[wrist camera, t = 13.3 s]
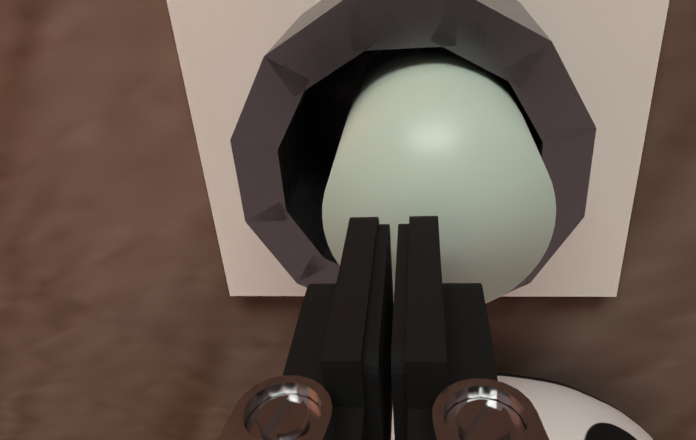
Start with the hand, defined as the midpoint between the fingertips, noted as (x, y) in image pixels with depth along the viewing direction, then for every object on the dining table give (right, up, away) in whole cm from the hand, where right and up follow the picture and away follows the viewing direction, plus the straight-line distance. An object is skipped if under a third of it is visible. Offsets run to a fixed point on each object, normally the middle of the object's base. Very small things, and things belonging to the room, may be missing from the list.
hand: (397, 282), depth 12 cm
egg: (+2, +5, +7) cm, 8 cm away
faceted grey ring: (+1, +5, +9) cm, 10 cm away
